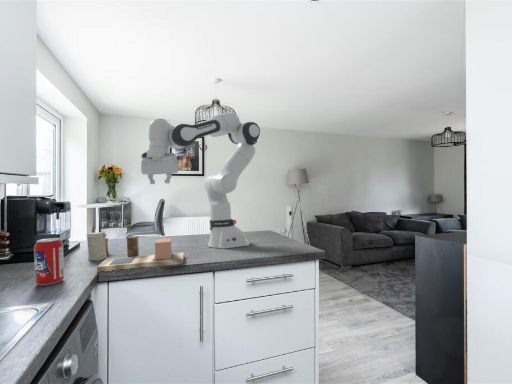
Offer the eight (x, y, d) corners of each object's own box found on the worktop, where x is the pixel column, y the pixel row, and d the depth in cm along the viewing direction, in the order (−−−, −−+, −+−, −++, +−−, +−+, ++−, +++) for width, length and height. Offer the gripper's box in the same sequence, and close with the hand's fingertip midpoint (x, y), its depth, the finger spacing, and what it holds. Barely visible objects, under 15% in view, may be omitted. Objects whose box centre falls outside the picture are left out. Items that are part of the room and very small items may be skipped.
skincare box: (106, 258, 123) (105, 232, 122) (99, 261, 118) (98, 233, 118) (95, 257, 124) (94, 231, 124) (87, 260, 120) (86, 233, 120)
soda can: (67, 282, 91) (65, 238, 91) (37, 289, 85) (36, 242, 85) (61, 277, 96) (59, 236, 96) (33, 283, 91) (31, 240, 90)
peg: (138, 257, 123) (138, 235, 123) (137, 259, 119) (136, 237, 119) (129, 258, 122) (128, 236, 122) (127, 260, 118) (126, 237, 118)
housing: (171, 253, 118) (171, 238, 118) (170, 258, 111) (170, 241, 111) (157, 255, 117) (156, 239, 117) (155, 259, 109) (154, 242, 109)
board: (183, 256, 122) (182, 241, 122) (183, 263, 110) (182, 246, 110) (105, 263, 113) (105, 247, 113) (96, 272, 102) (96, 254, 102)
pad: (135, 257, 115) (135, 256, 115) (131, 262, 106) (131, 262, 106) (115, 259, 113) (115, 258, 113) (109, 264, 104) (109, 264, 104)
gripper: (181, 153, 123) (181, 183, 123) (149, 156, 132) (149, 184, 132) (171, 151, 117) (171, 182, 117) (138, 155, 126) (139, 184, 126)
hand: (159, 183), depth 124 cm, fingers open, 8 cm apart
